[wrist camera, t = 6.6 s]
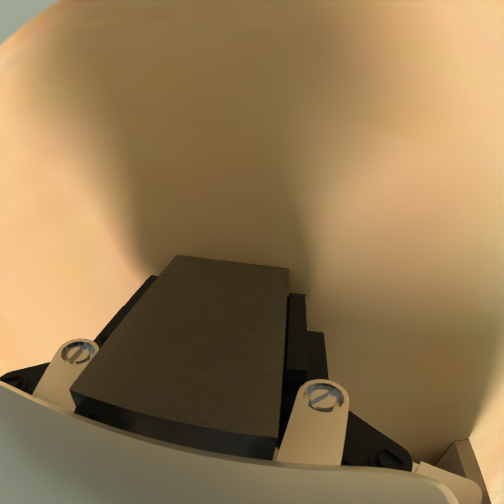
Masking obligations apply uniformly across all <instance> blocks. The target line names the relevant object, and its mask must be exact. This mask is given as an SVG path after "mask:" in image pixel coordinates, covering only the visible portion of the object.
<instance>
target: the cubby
mask: <svg viewBox="0 0 504 504" xmlns="http://www.w3.org/2000/svg"><path fill="white" fill-rule="evenodd" d="M435 467H437V468H440V469H442V470H445V471H448V472H450V473H453V474H456V475H458V476H461V477H464V478H467V479H470V480H472V481H474V482H475V483H477V484H478V486H479V487H480V488H481V491H482V502H481V504H491V501H490V498H489V495H488V492H487V489H486V486H485V483H484V480H483V477H482V474H481V471H480V468H479V465H478V462H477V460H476V457H475V454H474V452H473V449H472V446H471V444H470V441H469V439H466V440H461V441H454V442H453V444H452V445H451V446H450V448H449V449H448V450H447V452H446V453H445V454H444V455H443V457H442V458H441V459H440V460H439V462H438V463H437V464H436V465H435Z"/></svg>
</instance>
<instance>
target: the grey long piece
mask: <svg viewBox="0 0 504 504" xmlns="http://www.w3.org/2000/svg"><path fill="white" fill-rule="evenodd" d="M287 286H288V269H286V268H277V267H269V266H260V265H252V264H243V263H235V262H226V261H218V260H210V259H202V258H193V257H185V256H176V257H175V258H174V259H173V260H172V261H171V263H170V264H169V265H168V266H167V267H166V268H165V270H164V271H163V272H162V273H161V274H160V275H159V277H158V278H157V279H156V280H155V281H154V283H153V284H152V285H151V286H150V287H149V289H148V290H147V291H146V292H145V293H144V295H143V296H142V297H141V298H140V299H139V301H138V302H137V303H136V304H135V305H134V307H133V308H132V309H131V310H130V312H129V313H128V314H127V315H126V316H125V318H124V319H123V320H122V321H121V323H120V324H119V325H118V326H117V328H116V329H115V330H114V331H113V333H112V334H111V335H110V336H109V338H108V339H107V340H106V341H105V343H104V344H103V345H102V347H101V348H100V349H99V350H98V352H97V353H96V354H95V356H94V357H93V358H92V359H91V361H90V362H89V363H88V365H87V366H86V367H85V368H84V370H83V371H82V372H81V374H80V375H79V376H78V378H77V379H76V380H75V382H74V383H73V384H72V386H71V387H70V388H69V391H70V394H71V396H72V399H73V401H74V404H75V406H76V409H77V411H78V413H79V415H80V416H83V417H86V418H89V419H91V420H94V421H97V422H100V423H103V424H106V425H109V426H112V427H115V428H118V429H121V430H124V431H128V432H131V433H134V434H138V435H141V436H145V437H149V438H152V439H156V440H160V441H164V442H168V443H172V444H176V445H181V446H185V447H190V448H195V449H199V450H205V451H210V452H215V453H221V454H227V455H233V456H239V457H247V458H254V459H262V460H271V461H272V459H273V455H274V451H275V447H276V443H277V439H278V430H279V417H280V404H281V391H282V376H283V361H284V345H285V327H286V308H287Z"/></svg>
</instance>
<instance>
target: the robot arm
mask: <svg viewBox="0 0 504 504" xmlns="http://www.w3.org/2000/svg"><path fill="white" fill-rule="evenodd" d="M158 277H159V276H154V275H151V276H150V277H149V278H148V279H147V280H146V281H145V282H144V284H143V285H142V286H141V287H140V288H139V289H138V290H137V292H136V293H135V294H134V295H133V296H132V297H131V298H130V300H129V301H128V302H127V303H126V304H125V305H124V306H123V307H122V308H121V309H120V310H119V311H118V312H117V314H116V315H115V316H114V317H113V318H112V320H111V321H110V322H109V323H108V324H107V325H106V327H105V328H104V329H103V330H102V331H101V333H100V334H99V335H98V336H97V337H96V339H95V340H94V341H92V340H88V339H73V340H70V341H68V342H66V343H64V344H63V345H62V346H61V347H60V348H59V349H58V351H57V352H56V354H55V356H54V357H53V359H52V361H51V362H49V363H45V364H41V365H37V366H32V367H28V368H24V369H20V370H16V371H12V372H9V373H6V374H4V375H3V376H1V377H0V504H481V502H482V491H481V488H480V487H479V486H478V484H477V483H475V482H474V481H472V480H470V479H467V478H464V477H461V476H458V475H456V474H453V473H450V472H448V471H445V470H442V469H440V468H437V467H435V466H432V465H430V464H427V463H425V462H422V461H421V462H420V464H417V463H415V462H412V458H411V456H410V454H409V453H408V451H406V450H405V449H404V448H403V447H402V446H400V445H399V444H397V443H396V442H394V441H393V440H391V439H390V438H388V437H387V436H385V435H384V434H382V433H381V432H379V431H378V430H376V429H375V428H373V427H372V426H370V425H369V424H368V423H366V422H365V421H363V420H362V419H360V418H359V417H357V416H356V415H355V414H353V413H352V412H350V411H349V403H350V401H349V395H348V393H347V391H346V390H345V389H344V388H343V387H342V386H341V385H339V384H337V383H335V382H333V381H329V379H328V369H327V359H326V350H325V341H324V334H323V332H312V331H307V325H306V304H305V295H303V294H294V293H290V294H289V297H287V308H286V327H285V345H284V361H283V376H282V391H281V404H280V417H279V430H278V439H277V443H276V447H277V448H278V449H279V453H278V455H277V458H276V461H271V460H262V459H254V458H247V457H239V456H233V455H227V454H221V453H215V452H210V451H205V450H199V449H195V448H190V447H185V446H181V445H176V444H172V443H168V442H164V441H160V440H156V439H152V438H149V437H145V436H141V435H138V434H134V433H131V432H128V431H124V430H121V429H118V428H115V427H112V426H109V425H106V424H103V423H100V422H97V421H94V420H91V419H89V418H86V417H83V416H80V415H79V413H78V411H77V409H76V406H75V404H74V401H73V399H72V396H71V394H70V391H69V388H70V387H71V386H72V384H73V383H74V382H75V380H76V379H77V378H78V376H79V375H80V374H81V372H82V371H83V370H84V368H85V367H86V366H87V365H88V363H89V362H90V361H91V359H92V358H93V357H94V356H95V354H96V353H97V352H98V350H99V349H100V348H101V347H102V345H103V344H104V343H105V341H106V340H107V339H108V338H109V336H110V335H111V334H112V333H113V331H114V330H115V329H116V328H117V326H118V325H119V324H120V323H121V321H122V320H123V319H124V318H125V316H126V315H127V314H128V313H129V312H130V310H131V309H132V308H133V307H134V305H135V304H136V303H137V302H138V301H139V299H140V298H141V297H142V296H143V295H144V293H145V292H146V291H147V290H148V289H149V287H150V286H151V285H152V284H153V283H154V281H155V280H156V279H157V278H158Z"/></svg>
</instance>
